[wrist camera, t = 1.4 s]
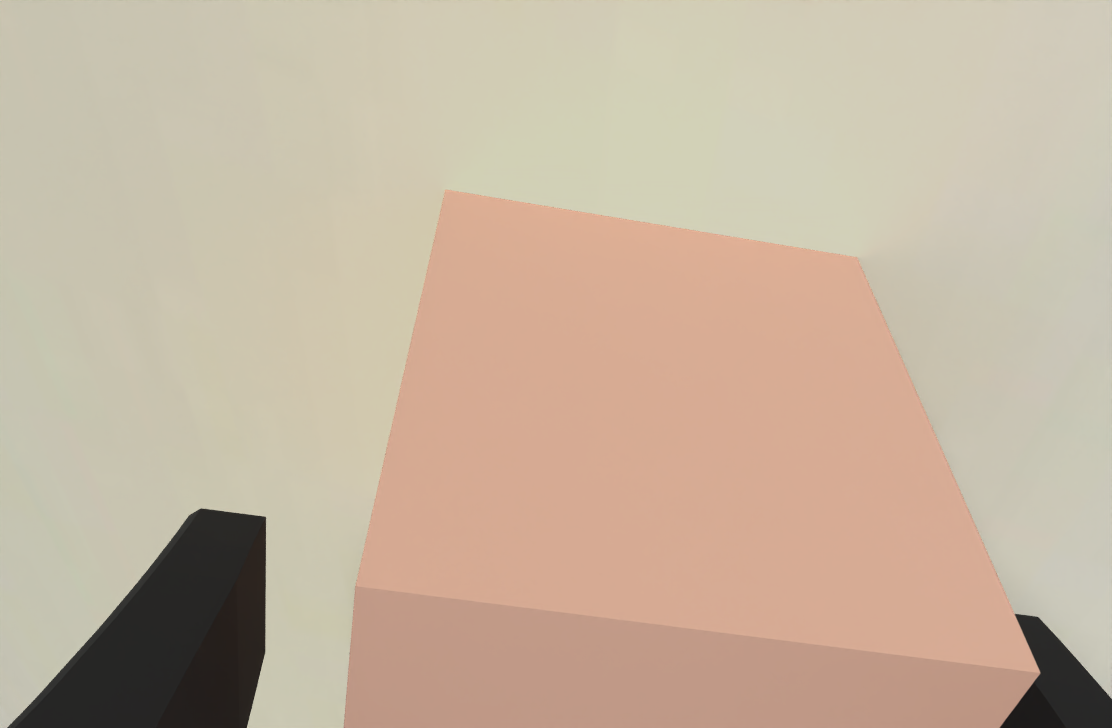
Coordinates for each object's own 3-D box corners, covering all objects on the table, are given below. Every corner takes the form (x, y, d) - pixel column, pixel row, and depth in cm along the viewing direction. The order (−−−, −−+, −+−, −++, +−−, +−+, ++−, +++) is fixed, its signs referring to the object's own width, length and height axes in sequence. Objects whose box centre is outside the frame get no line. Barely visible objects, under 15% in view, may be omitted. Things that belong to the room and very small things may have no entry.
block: (856, 255, 12) (1041, 672, 7) (740, 537, 15) (817, 969, 10) (446, 188, 12) (355, 585, 7) (408, 493, 15) (327, 921, 10)
